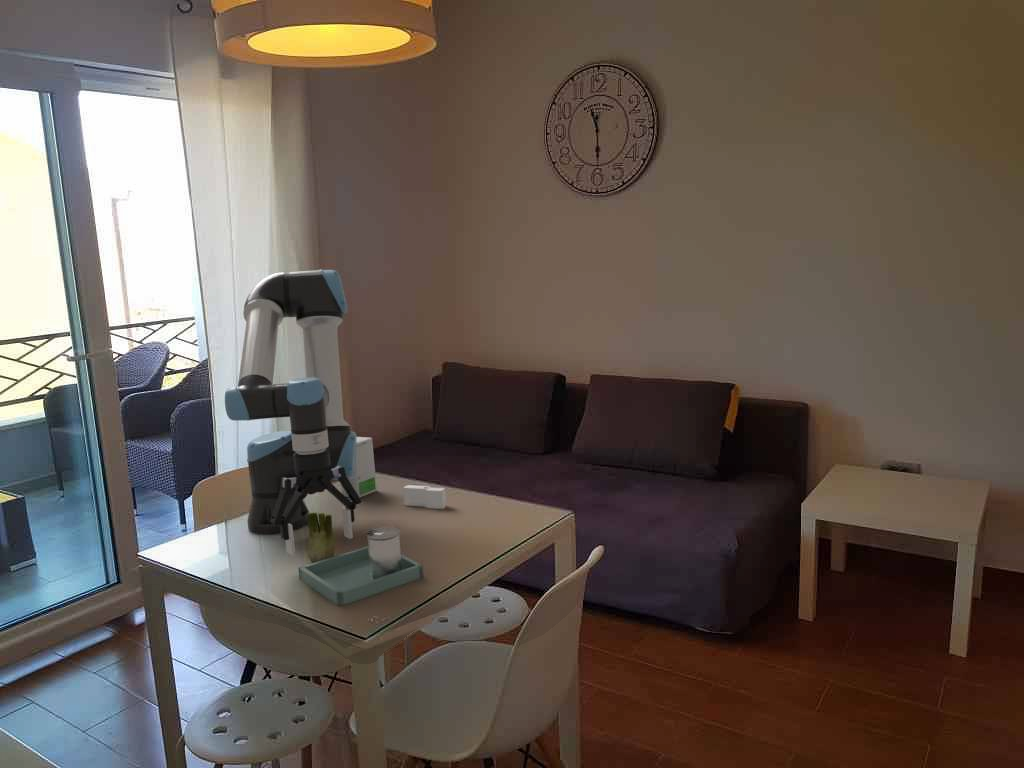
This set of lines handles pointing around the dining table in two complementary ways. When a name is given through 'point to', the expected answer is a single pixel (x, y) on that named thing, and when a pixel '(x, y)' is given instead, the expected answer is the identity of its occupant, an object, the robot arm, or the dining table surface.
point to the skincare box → (363, 468)
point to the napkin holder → (424, 496)
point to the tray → (354, 576)
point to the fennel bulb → (320, 537)
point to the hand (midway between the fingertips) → (320, 545)
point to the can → (384, 551)
